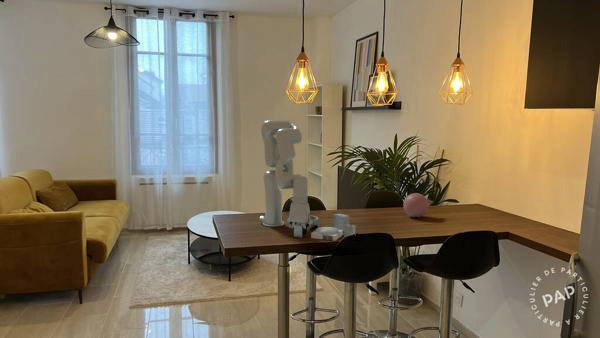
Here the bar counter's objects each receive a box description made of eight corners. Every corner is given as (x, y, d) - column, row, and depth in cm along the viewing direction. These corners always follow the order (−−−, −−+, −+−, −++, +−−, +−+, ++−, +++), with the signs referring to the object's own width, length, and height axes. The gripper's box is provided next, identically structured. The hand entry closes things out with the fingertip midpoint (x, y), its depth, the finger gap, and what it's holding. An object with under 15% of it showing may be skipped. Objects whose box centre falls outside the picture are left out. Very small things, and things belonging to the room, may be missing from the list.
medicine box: (349, 231, 232) (349, 215, 231) (344, 232, 229) (344, 216, 228) (338, 228, 238) (338, 213, 237) (333, 229, 234) (333, 214, 234)
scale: (310, 238, 216) (310, 231, 216) (319, 232, 229) (319, 225, 229) (334, 241, 211) (335, 234, 211) (342, 234, 224) (343, 228, 224)
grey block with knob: (293, 236, 219) (294, 224, 218) (297, 234, 223) (297, 223, 222) (301, 237, 217) (302, 225, 216) (305, 235, 221) (305, 223, 221)
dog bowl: (282, 226, 242) (282, 217, 242) (306, 222, 254) (307, 213, 254) (301, 232, 229) (301, 222, 229) (326, 227, 241) (326, 218, 241)
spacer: (344, 237, 219) (344, 225, 218) (346, 235, 223) (347, 224, 222) (352, 238, 217) (353, 226, 216) (355, 236, 221) (355, 224, 221)
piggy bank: (439, 219, 264) (440, 194, 262) (409, 220, 260) (410, 195, 258) (427, 214, 279) (428, 191, 277) (398, 215, 275) (399, 191, 273)
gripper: (282, 200, 218) (281, 234, 220) (312, 203, 211) (312, 238, 213) (288, 197, 225) (287, 231, 227) (318, 200, 218) (317, 235, 220)
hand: (299, 234), depth 220 cm, fingers closed on grey block with knob, 4 cm apart
